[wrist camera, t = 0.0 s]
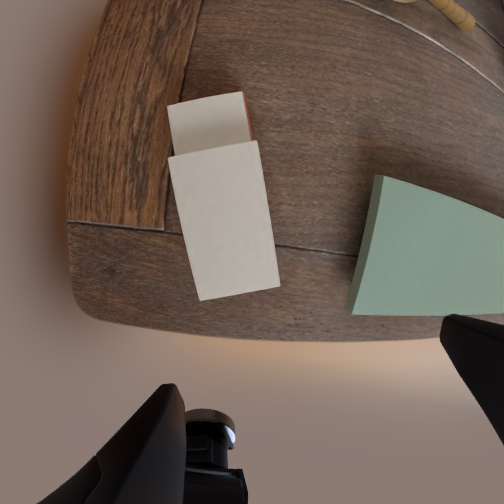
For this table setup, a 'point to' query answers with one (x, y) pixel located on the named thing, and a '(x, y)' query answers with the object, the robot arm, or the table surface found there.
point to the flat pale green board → (427, 255)
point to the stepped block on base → (221, 196)
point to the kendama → (452, 13)
